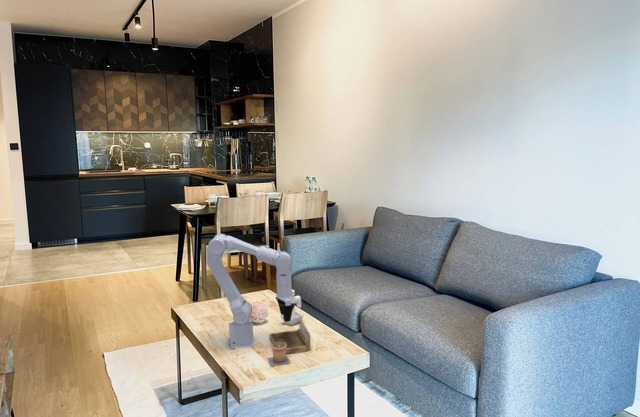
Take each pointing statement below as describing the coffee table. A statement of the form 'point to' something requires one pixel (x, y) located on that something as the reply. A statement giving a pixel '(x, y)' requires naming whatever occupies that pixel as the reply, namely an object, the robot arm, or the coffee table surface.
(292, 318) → the figurine
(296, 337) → the cold frame
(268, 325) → the coffee table surface
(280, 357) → the pot
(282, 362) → the tile
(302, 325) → the lid
